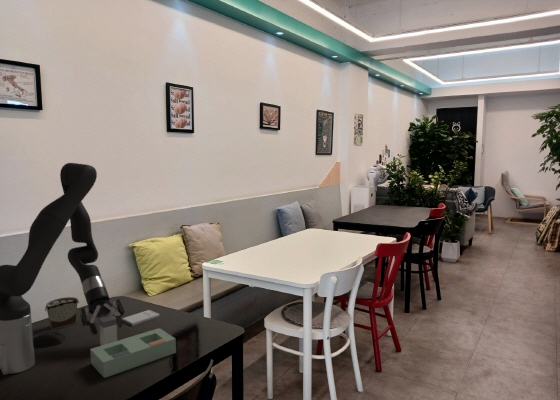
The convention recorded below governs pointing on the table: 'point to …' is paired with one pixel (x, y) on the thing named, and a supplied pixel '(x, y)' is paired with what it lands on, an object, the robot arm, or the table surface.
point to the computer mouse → (48, 338)
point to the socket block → (132, 352)
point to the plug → (108, 330)
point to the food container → (62, 312)
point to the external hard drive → (140, 317)
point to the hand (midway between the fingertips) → (108, 330)
